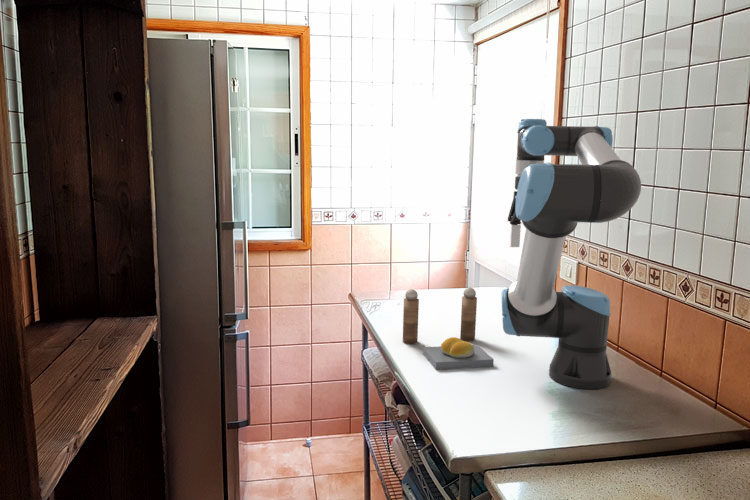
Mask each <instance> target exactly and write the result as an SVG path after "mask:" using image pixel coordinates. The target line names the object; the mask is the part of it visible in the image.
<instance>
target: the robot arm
mask: <svg viewBox="0 0 750 500" xmlns="http://www.w3.org/2000/svg"><path fill="white" fill-rule="evenodd" d="M547 123H548V122H547V120H545V119H542V118H522V119H520V120H519V121H518V128H517V146H516V150H517V151H516V159H515V174H516V175H517V176H515V178H514V189H515V190H516V191H513V199H512V202H511V205H510V209H509V212H508V217H507V222H509V224H510V234H509V235H510V237H509V248H519V247H520V246H521V245H520V244H521V243H520V242H521V229H522V228H521V225H522V226H523V227H524V228H525V234H524V237H523V238H524V239H523V245H522V251H521V255H520V262H519V268H518V273H517V278H516V280H515V281H513V282H512V283H511V285H509V286H510V287H509V288H506V289H502V291H501V314H502V329H503V332H504V333H505V334H506V335H509V336H510V335H511V336H516V337H531V338H532V337H533V338H551V339H552V338H554V339H558V342H557V348H556V350H555V351H554V355H553V357H552V360H551V361H550V364H549V369H548V376H549V378H550V379H552V380H553V381H555V382H557V383H559V384H561V385H564V386H568V387H570V388H575V389H576V388H577V389H583V390H596V389H597V390H599V389H603V388H607V387H609V386H610V385H611V384H612V369H611V367H610V362H609V358H608V354H607V347H608V346H607V345H608V336H609V325H610V324H609V323H610V316H611V300H610V298H609V296H608V295H607V294H605V293H603V292H601V291H599V290H597V289H593V288H589V287H587V286H586V287H585V286H580V285H575V284H574V285H573V284H572V285H564V286H563V287H562V288H561V291H556V290H555V288H554V286H555V282H556V278H557V275H558V270H559V266H560V262H561V258H562V254H563V251H564V245H565V243H566V238H567V237H568V236H570V235H571V234H572V233H573V232H574V231H575V230H576V227H577V225H578V223H584V224H585V223H591V224H593V223H594V224H596V223H597V224H601V223H608V222H611V221H613V220H614V221H615V220H617V219H618V218H621V217H623V216H624V215H625V214H627V213H628V212H629V211H630V210H631V209H632V208H633V207H634V206H635V205H636V203H637V202H638V199H639V197H640V195H641V192H642V181H641V177H640V175H639V172H638V171H637V170H636V169H635V167H634V166H633V164H630V163H629V162H627V161H625V160H622V159H621V158H620V157H619V155H617V153H616V152H615V150H614V148H613V141H614V140H613V134H612V133H613V132H612V129H611V128H609V127H606V126H598V125H595V126H594V125H593V126H580V125H579V126H575V125H574V126H572V125H570V126H567V125H564V126H563V125H547ZM545 156H557V157H559V156H562V157H563V156H565V157H577V158H578V159H579V161H580V163H581V164H579V163H578V164H575V163H574V164H572V163H571V164H569V163H567V164H564V163H561V164H559V163H556V164H555V163H551V162H545Z"/></svg>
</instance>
